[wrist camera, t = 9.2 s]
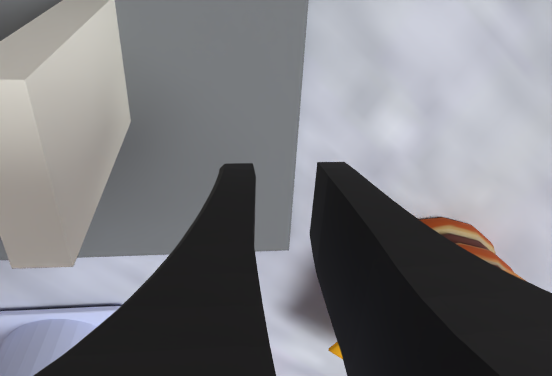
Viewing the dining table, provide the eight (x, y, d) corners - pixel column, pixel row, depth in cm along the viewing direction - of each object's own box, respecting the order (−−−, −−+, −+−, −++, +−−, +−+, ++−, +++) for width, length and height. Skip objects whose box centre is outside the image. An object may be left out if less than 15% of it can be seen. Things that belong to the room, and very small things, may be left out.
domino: (113, -5, 16) (24, 79, 9) (130, 121, 19) (73, 266, 12) (71, -6, 16) (-57, 78, 9) (94, 121, 19) (11, 268, 11)
